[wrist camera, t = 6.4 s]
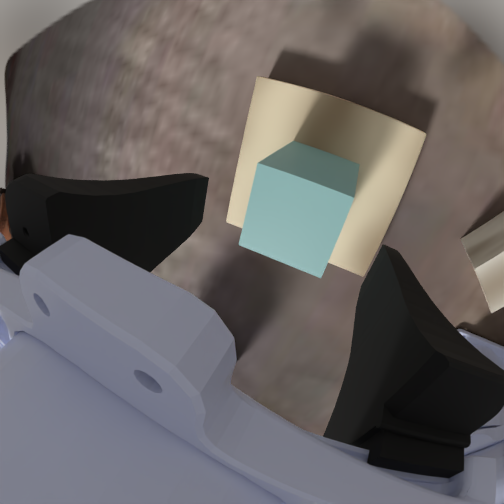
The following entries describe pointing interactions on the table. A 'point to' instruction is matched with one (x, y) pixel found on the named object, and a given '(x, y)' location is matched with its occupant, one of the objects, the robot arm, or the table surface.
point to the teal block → (299, 206)
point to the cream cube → (488, 259)
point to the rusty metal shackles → (4, 217)
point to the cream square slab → (337, 143)
